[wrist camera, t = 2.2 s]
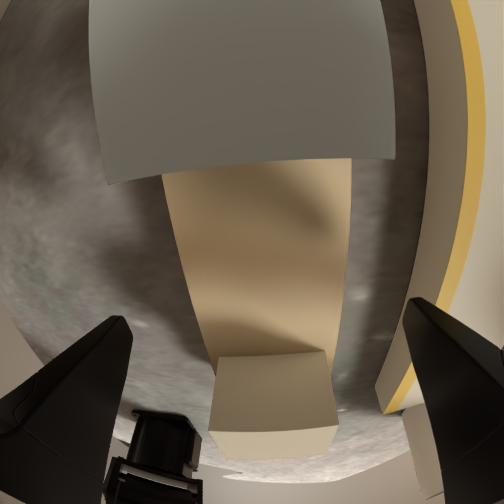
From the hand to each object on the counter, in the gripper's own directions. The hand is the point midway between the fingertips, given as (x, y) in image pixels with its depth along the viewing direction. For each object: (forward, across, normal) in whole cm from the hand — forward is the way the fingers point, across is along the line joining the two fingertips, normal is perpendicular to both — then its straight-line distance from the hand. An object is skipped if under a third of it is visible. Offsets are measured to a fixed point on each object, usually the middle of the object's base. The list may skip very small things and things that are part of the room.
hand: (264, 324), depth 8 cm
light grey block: (+2, 0, -7) cm, 7 cm away
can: (+6, -17, +22) cm, 29 cm away
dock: (+6, -14, 0) cm, 15 cm away
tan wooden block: (+6, 0, 0) cm, 7 cm away
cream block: (+2, 0, +6) cm, 7 cm away
